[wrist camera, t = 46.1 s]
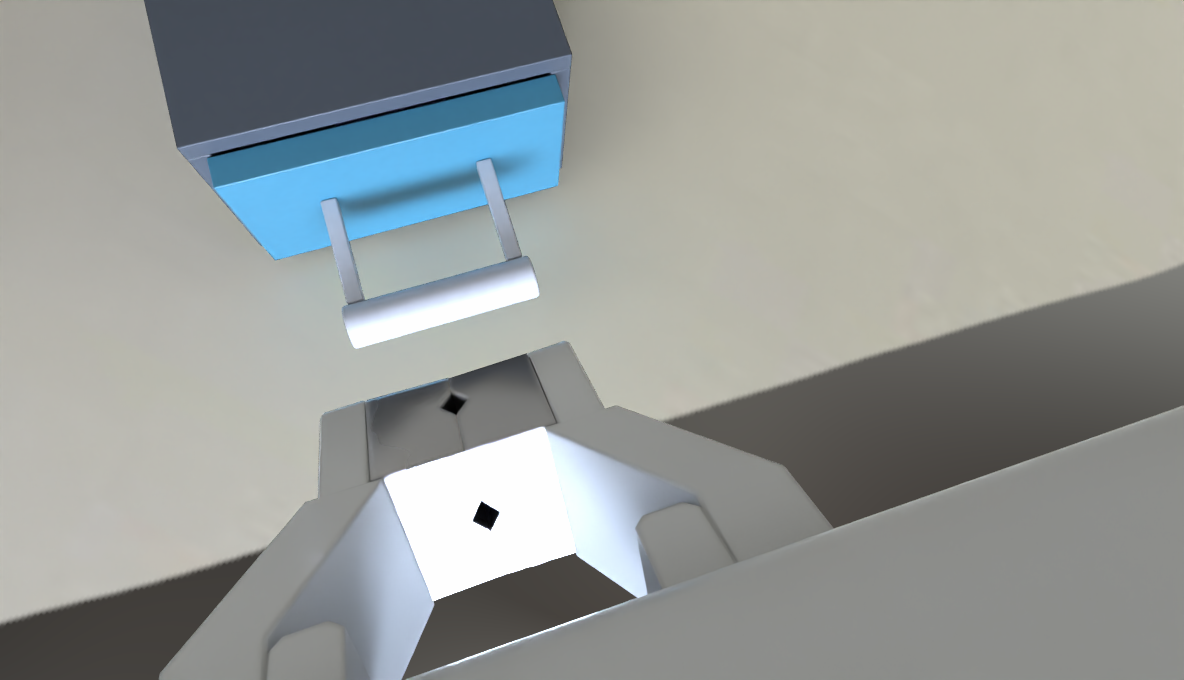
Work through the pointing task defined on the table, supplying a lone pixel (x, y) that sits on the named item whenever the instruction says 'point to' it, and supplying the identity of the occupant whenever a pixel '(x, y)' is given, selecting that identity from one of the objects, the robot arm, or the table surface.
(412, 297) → the blue drawer
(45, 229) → the table surface
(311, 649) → the robot arm
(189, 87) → the drawer cabinet
